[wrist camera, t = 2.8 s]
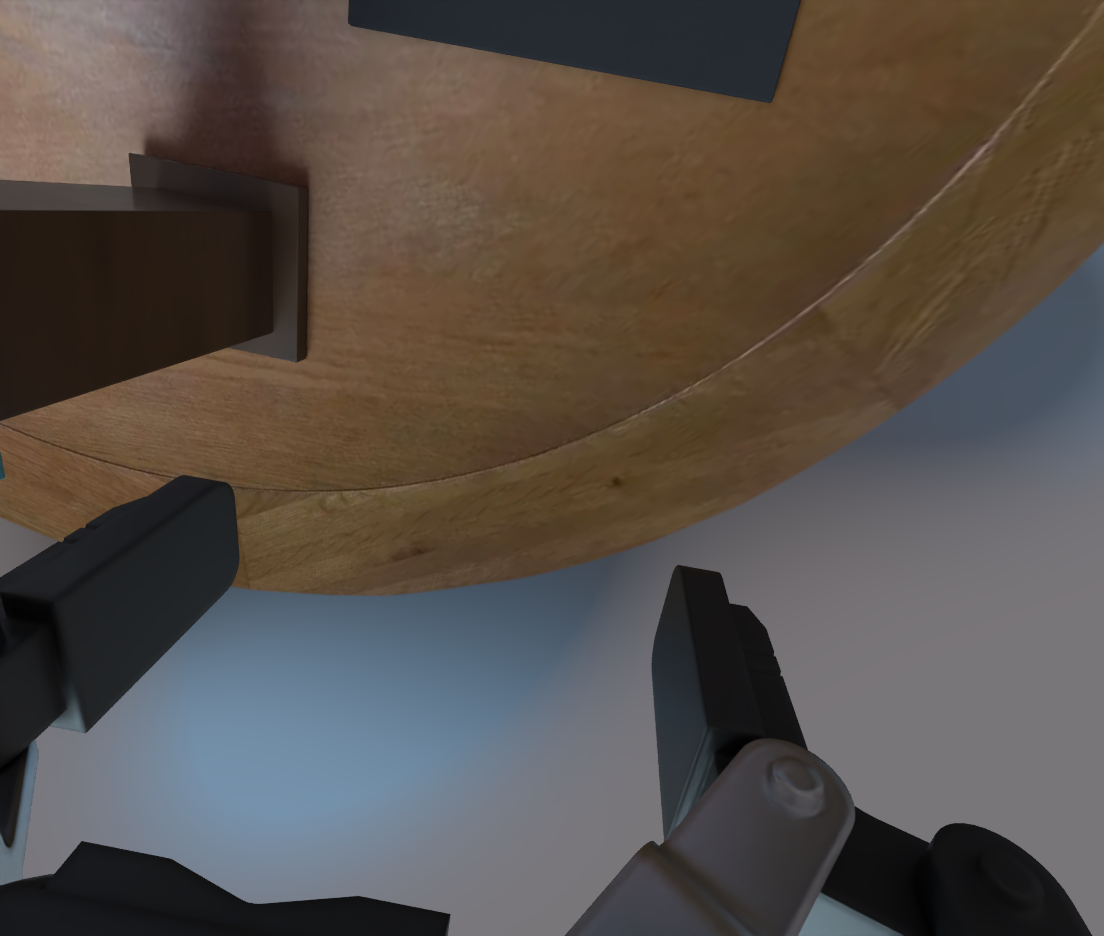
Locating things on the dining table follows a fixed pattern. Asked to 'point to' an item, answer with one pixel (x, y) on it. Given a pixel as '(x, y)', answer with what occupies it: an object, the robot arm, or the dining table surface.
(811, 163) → the dining table surface
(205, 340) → the stand
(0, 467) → the rectangular block
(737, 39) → the mat
